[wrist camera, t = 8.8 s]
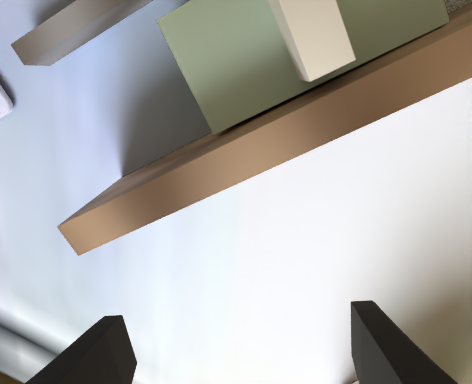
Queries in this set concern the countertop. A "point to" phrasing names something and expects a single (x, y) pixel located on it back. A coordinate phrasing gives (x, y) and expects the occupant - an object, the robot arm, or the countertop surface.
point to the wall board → (254, 128)
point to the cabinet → (282, 46)
